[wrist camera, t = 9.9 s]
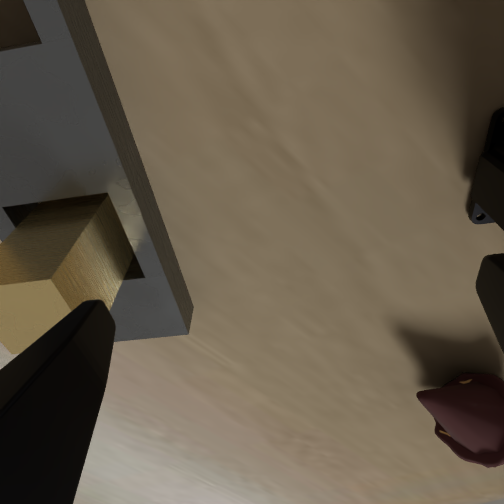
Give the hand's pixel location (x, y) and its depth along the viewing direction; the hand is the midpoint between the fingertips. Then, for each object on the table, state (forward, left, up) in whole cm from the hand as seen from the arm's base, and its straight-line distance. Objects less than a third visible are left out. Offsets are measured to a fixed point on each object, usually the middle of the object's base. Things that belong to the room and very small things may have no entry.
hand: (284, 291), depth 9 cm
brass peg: (+11, +4, -12) cm, 17 cm away
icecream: (-14, +24, -12) cm, 31 cm away
